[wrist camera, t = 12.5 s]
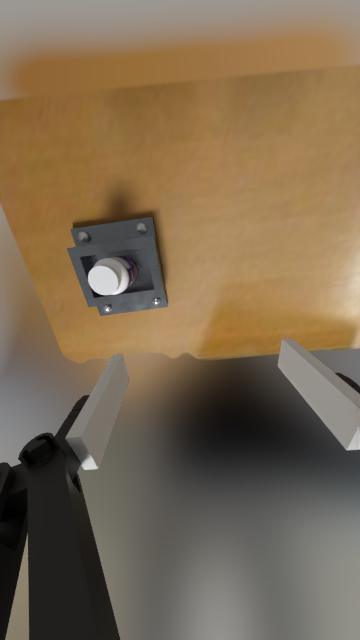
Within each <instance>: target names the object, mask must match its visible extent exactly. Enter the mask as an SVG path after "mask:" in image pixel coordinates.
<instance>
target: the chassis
mask: <svg viewBox="0 0 360 640" xmlns="http://www.w3.org/2000/svg"><path fill="white" fill-rule="evenodd" d="M70 230H71V233H72V236H73V239H74V242H75V244H76V247H73V248H67V250H68V253H69V255H70V258H71V261H72V263H73V266H74V269H75V271H76V274H77V277H78V280H79V282H80V285H81V288H82V290H83V293H84V296H85V298H86V301H87V304H88V307H93V306H97V308H98V310H99V313H100V316H103V315H110V314H118V313H125V312H132V311H140V310H147V309H154V308H162V307H167V306H168V305H167V299H166V293H165V287H164V281H163V275H162V269H161V264H160V258H159V252H158V246H157V240H156V234H155V228H154V222H153V217H147V218H141V219H134V220H127V221H120V222H114V223H107V224H100V225H94V226H87V227H80V228H73V229H70ZM118 256H122V257H126V258H128V259H130V260H131V261H132V262H133V263H134V265H135V267H136V270H137V276H136V279H135V281H134V282H133V283H132V284H131V285H130V286H129V287H128V288H127V289H125V290H124V291H123V292H121V293H119V294H116V295H101V294H98V293H97V292H95V291H94V290H93V289H92V288H91V286H90V284H89V282H88V274H89V272H90V270H91V269H92V268H93V266H94V265H95V264H96V262H98V261H99V260H101V259H104V258H111V257H118Z"/></svg>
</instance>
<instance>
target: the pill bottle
mask: <svg viewBox="0 0 360 640" xmlns="http://www.w3.org/2000/svg"><path fill="white" fill-rule="evenodd" d="M136 276H137V270H136V267H135V265H134V263H133V262H132V261H131V260H130V259H128V258H126V257H122V256H118V257H111V258H104V259H101V260H99V261H98V262H96V264H95V265H94V266H93V268H92V269H91V270H90V272H89V274H88V282H89V284H90V286H91V288H92V289H93V290H94V291H95V292H97V293H98V294H101V295H116V294H119V293H121V292H123V291H124V290H125V289H127V288H128V287H129V286H130V285H131V284H132V283H133V282H134V281H135V279H136Z"/></svg>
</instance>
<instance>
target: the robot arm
mask: <svg viewBox="0 0 360 640" xmlns="http://www.w3.org/2000/svg"><path fill="white" fill-rule="evenodd" d="M278 367H279V368H280V369H281V371H282V372H283V373H284V375H286V377H287V378H288V379H289V380H290V381H291V383H292V384H293V385H294V387H295V388H296V389H297V390H298V391H299V393H300V394H301V395H302V396H303V397H304V399H305V400H306V401H307V402H308V404H309V405H310V406H311V407H312V408H313V410H314V411H315V412H316V413H317V415H318V416H319V417H320V418H321V419H322V421H323V422H324V423H325V424H326V426H327V427H328V428H329V429H330V431H331V432H332V433H333V434H334V435H335V437H336V438H337V439H338V440H339V441H340V443H341V444H342V445H343V446H344V448H345V449H346V450H355V449H360V386H358V384H356V383H355V382H354V381H353V380H351V379H350V378H348V377H346V376H344V375H342V374H340V373H334V372H332V371H331V370H330V369H329V368H328V367H326V366H325V365H324V364H323V363H321V362H320V361H319V360H318V359H316V358H315V357H314V356H313V355H312V354H310V353H309V352H308V351H307V350H306V349H304V348H303V347H302V346H301V345H300V344H298V343H297V342H296V341H295V340H293V339H292V338H288V339H282V343H281V349H280V355H279V361H278ZM128 383H129V375H128V372H127V369H126V365H125V362H124V358H123V355H122V354H118V355H113V356H112V358H111V360H110V361H109V363H108V365H107V367H106V368H105V370H104V372H103V374H102V375H101V377H100V379H99V380H98V382H97V384H96V386H95V388H94V389H93V391H92V393H91V394H90V395H86V396H83V397H82V398H81V399H80V400H79V401H77V403H76V404H75V406H74V407H73V409H72V411H71V412H70V414H69V415H68V418H66V420H65V421H64V423H63V425H62V426H61V428H60V429H59V431H58V432H57V434H56V435H55V437H54V436H53V434H51V433H43V434H41V435H38V436H37V437H35V438H34V439H32V440H31V441H29V443H27V444H26V445H25V447H24V448H23V449H22V451H21V452H20V455H19V458H18V459H19V460H20V461H21V464H19V465H16V466H13V467H11V466H10V465H9V464H8V463H4V462H3V463H0V640H5V637H6V633H7V628H8V623H9V618H10V614H11V608H12V604H13V600H14V595H15V590H16V585H17V580H18V576H19V571H20V566H21V562H22V556H23V552H24V547H25V542H26V538H27V533H28V564H29V566H28V567H29V568H28V571H29V572H28V573H29V640H120V637H119V633H118V629H117V625H116V621H115V617H114V613H113V609H112V605H111V601H110V597H109V593H108V589H107V585H106V582H105V577H104V573H103V570H102V566H101V562H100V557H99V553H98V550H97V546H96V542H95V538H94V534H93V530H92V526H91V522H90V518H89V514H88V511H87V506H86V502H85V498H84V494H83V490H82V486H81V482H80V478H79V475H78V474H77V471H78V469H79V467H80V465H82V467H83V468H84V470H90V469H98V468H99V465H100V462H101V460H102V457H103V454H104V451H105V448H106V445H107V442H108V440H109V437H110V434H111V431H112V428H113V425H114V422H115V420H116V417H117V414H118V411H119V408H120V406H121V403H122V400H123V397H124V394H125V391H126V389H127V386H128Z"/></svg>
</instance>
